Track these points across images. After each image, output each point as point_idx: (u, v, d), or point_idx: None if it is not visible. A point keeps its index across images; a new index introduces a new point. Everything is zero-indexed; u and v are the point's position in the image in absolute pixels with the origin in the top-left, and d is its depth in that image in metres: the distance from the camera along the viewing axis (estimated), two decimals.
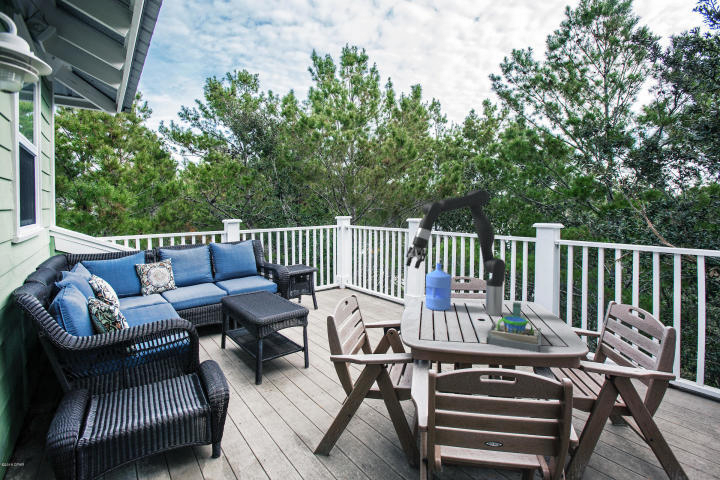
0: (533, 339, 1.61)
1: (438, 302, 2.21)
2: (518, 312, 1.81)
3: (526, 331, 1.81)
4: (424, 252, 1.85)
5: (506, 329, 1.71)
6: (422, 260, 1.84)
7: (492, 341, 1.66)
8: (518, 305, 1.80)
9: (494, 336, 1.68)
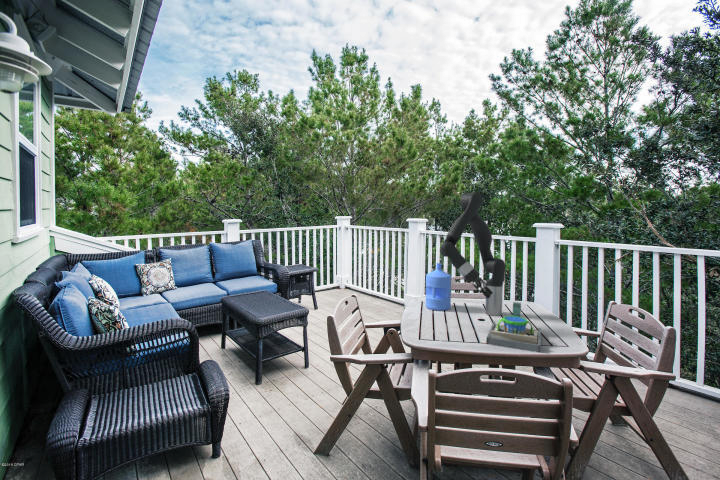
0: (533, 339, 1.61)
1: (438, 302, 2.21)
2: (518, 312, 1.81)
3: (526, 331, 1.81)
4: (475, 285, 1.84)
5: (506, 329, 1.71)
6: (482, 291, 1.83)
7: (492, 341, 1.66)
8: (518, 305, 1.80)
9: (494, 336, 1.68)
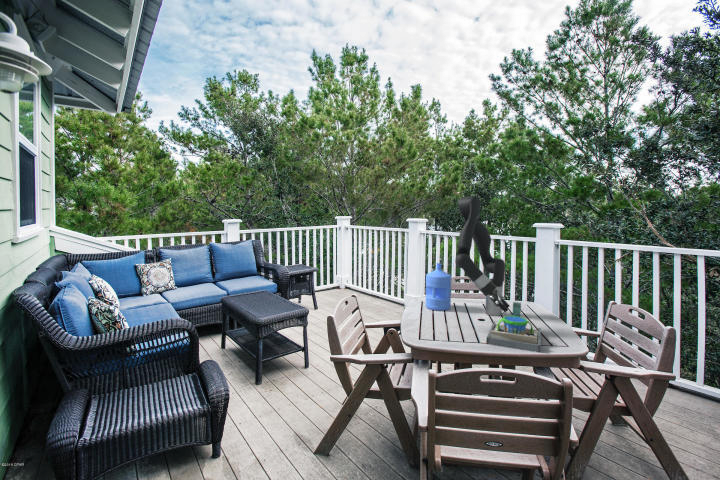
0: (533, 339, 1.61)
1: (438, 302, 2.21)
2: (518, 312, 1.81)
3: (526, 331, 1.81)
4: (492, 298, 1.81)
5: (506, 329, 1.71)
6: (499, 304, 1.79)
7: (492, 341, 1.66)
8: (518, 305, 1.80)
9: (494, 336, 1.68)
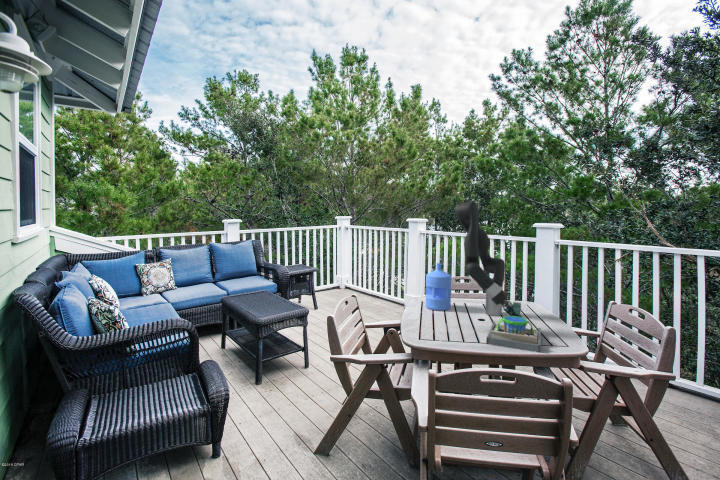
0: (533, 339, 1.61)
1: (438, 302, 2.21)
2: (518, 312, 1.81)
3: (526, 331, 1.81)
4: (507, 310, 1.79)
5: (506, 329, 1.71)
6: (513, 315, 1.79)
7: (492, 341, 1.66)
8: (518, 305, 1.80)
9: (494, 336, 1.68)
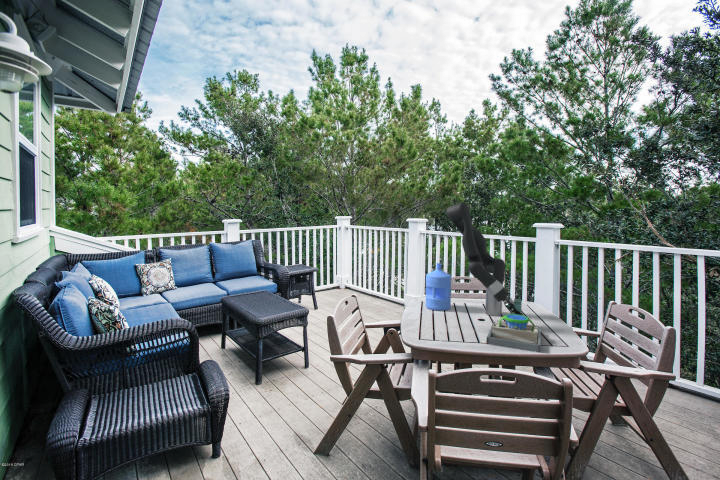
0: (533, 334, 1.67)
1: (438, 302, 2.21)
2: (519, 309, 1.87)
3: (527, 327, 1.87)
4: (508, 306, 1.85)
5: (507, 327, 1.75)
6: (515, 311, 1.85)
7: (492, 341, 1.66)
8: (519, 302, 1.87)
9: (496, 332, 1.74)
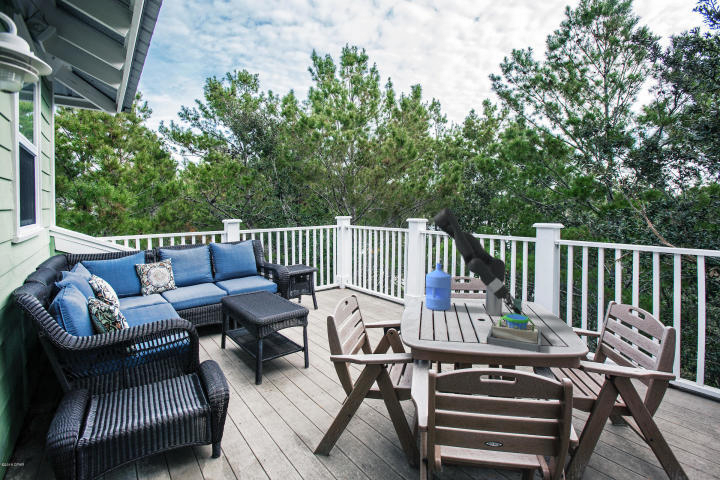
0: (533, 334, 1.67)
1: (438, 302, 2.21)
2: (519, 308, 1.87)
3: (527, 327, 1.87)
4: (506, 302, 1.85)
5: (507, 326, 1.75)
6: (513, 308, 1.84)
7: (492, 341, 1.66)
8: (519, 302, 1.87)
9: (496, 331, 1.74)
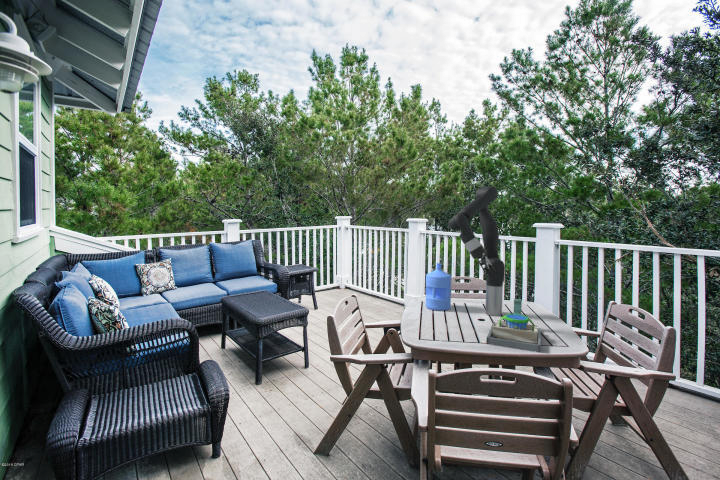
0: (533, 334, 1.67)
1: (438, 302, 2.21)
2: (519, 308, 1.87)
3: (527, 327, 1.87)
4: (480, 262, 1.85)
5: (507, 326, 1.75)
6: (485, 268, 1.84)
7: (492, 341, 1.66)
8: (519, 302, 1.87)
9: (496, 331, 1.74)
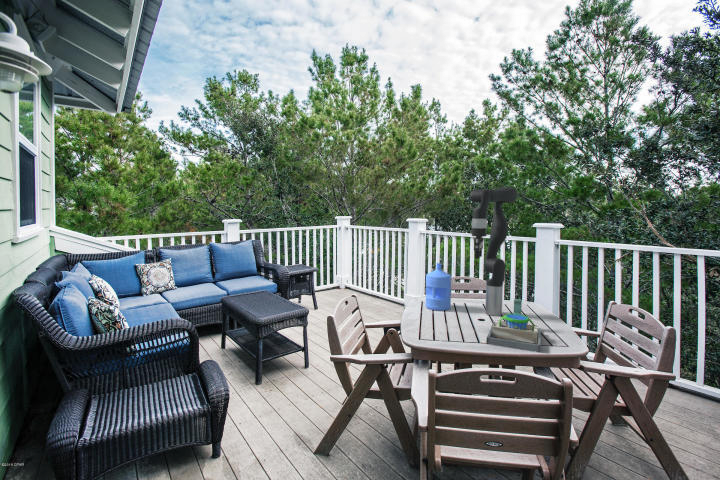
0: (533, 334, 1.67)
1: (438, 302, 2.21)
2: (519, 308, 1.87)
3: (527, 327, 1.87)
4: (476, 241, 1.87)
5: (507, 326, 1.75)
6: (476, 250, 1.87)
7: (492, 341, 1.66)
8: (519, 302, 1.87)
9: (496, 331, 1.74)
